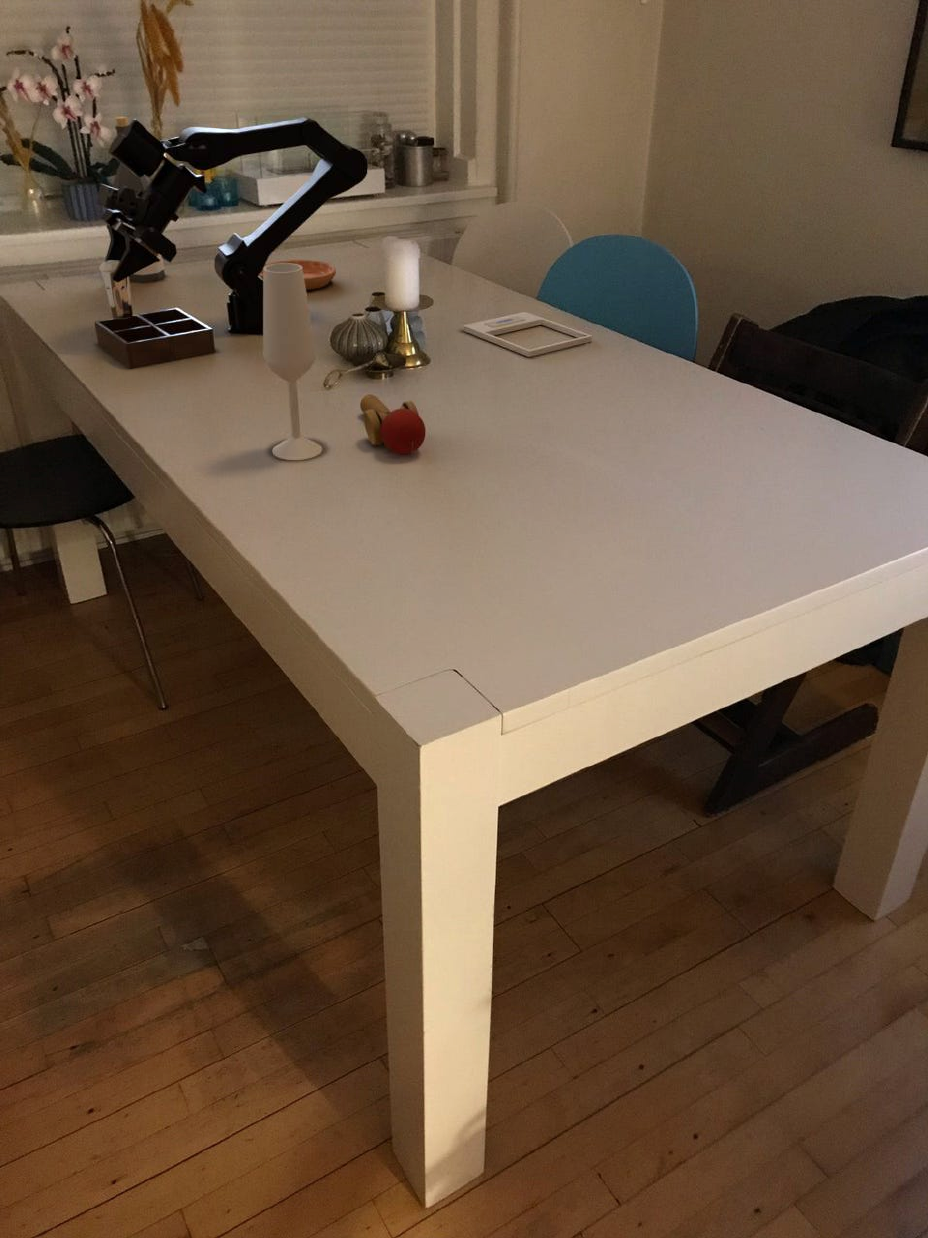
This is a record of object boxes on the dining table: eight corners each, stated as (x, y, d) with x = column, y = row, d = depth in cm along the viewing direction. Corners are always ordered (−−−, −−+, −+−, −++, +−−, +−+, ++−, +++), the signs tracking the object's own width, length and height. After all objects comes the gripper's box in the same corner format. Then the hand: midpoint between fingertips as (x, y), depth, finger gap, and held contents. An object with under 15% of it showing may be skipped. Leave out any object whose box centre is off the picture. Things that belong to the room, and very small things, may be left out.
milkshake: (146, 315, 173) (135, 253, 168) (116, 322, 170) (105, 259, 165) (132, 310, 176) (122, 249, 171) (103, 316, 173) (91, 254, 168)
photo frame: (525, 310, 192) (592, 334, 180) (524, 316, 193) (592, 341, 181) (463, 324, 184) (529, 350, 173) (463, 330, 185) (529, 356, 173)
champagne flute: (267, 443, 141) (250, 263, 128) (315, 437, 143) (303, 259, 130) (277, 462, 136) (261, 276, 123) (327, 456, 138) (316, 272, 125)
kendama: (340, 427, 150) (379, 457, 135) (344, 383, 148) (383, 409, 132) (390, 429, 153) (434, 459, 138) (395, 386, 151) (439, 412, 135)
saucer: (252, 276, 216) (251, 261, 214) (328, 271, 220) (327, 256, 218) (263, 296, 203) (262, 281, 201) (343, 290, 207) (343, 275, 205)
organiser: (180, 330, 184) (177, 307, 182) (215, 352, 174) (212, 328, 172) (98, 344, 176) (94, 321, 174) (129, 368, 166) (125, 344, 164)
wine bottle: (173, 276, 215) (151, 116, 199) (144, 284, 209) (119, 121, 193) (145, 270, 218) (122, 113, 202) (116, 278, 212) (89, 117, 196)
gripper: (102, 155, 169) (49, 235, 169) (144, 172, 156) (87, 258, 157) (156, 200, 177) (105, 276, 177) (201, 220, 164) (145, 301, 165)
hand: (109, 277), depth 169 cm, fingers closed on milkshake, 4 cm apart
